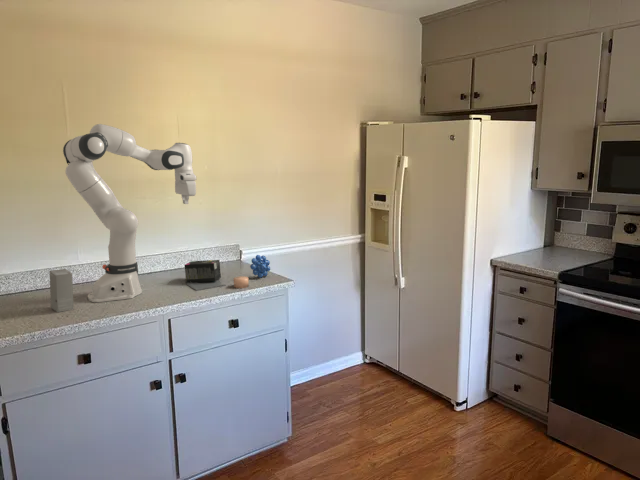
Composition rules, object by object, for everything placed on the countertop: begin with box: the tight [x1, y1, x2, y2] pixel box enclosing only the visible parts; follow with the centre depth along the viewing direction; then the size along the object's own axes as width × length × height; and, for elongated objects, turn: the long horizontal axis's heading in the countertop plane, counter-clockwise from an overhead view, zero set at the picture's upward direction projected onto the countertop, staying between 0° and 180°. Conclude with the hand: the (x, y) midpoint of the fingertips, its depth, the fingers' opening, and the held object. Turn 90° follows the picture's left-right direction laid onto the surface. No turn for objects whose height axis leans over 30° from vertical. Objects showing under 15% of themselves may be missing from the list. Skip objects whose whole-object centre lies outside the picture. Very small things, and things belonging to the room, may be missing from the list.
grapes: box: [249, 254, 271, 279], centre depth 243 cm, size 12×7×12 cm, turn 130°
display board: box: [186, 279, 226, 291], centre depth 232 cm, size 14×13×1 cm
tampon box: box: [184, 259, 222, 284], centre depth 238 cm, size 11×9×15 cm
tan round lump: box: [233, 275, 250, 289], centre depth 230 cm, size 7×7×4 cm
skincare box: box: [49, 268, 75, 313], centre depth 197 cm, size 8×7×16 cm
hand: (185, 203), depth 243 cm, fingers closed
